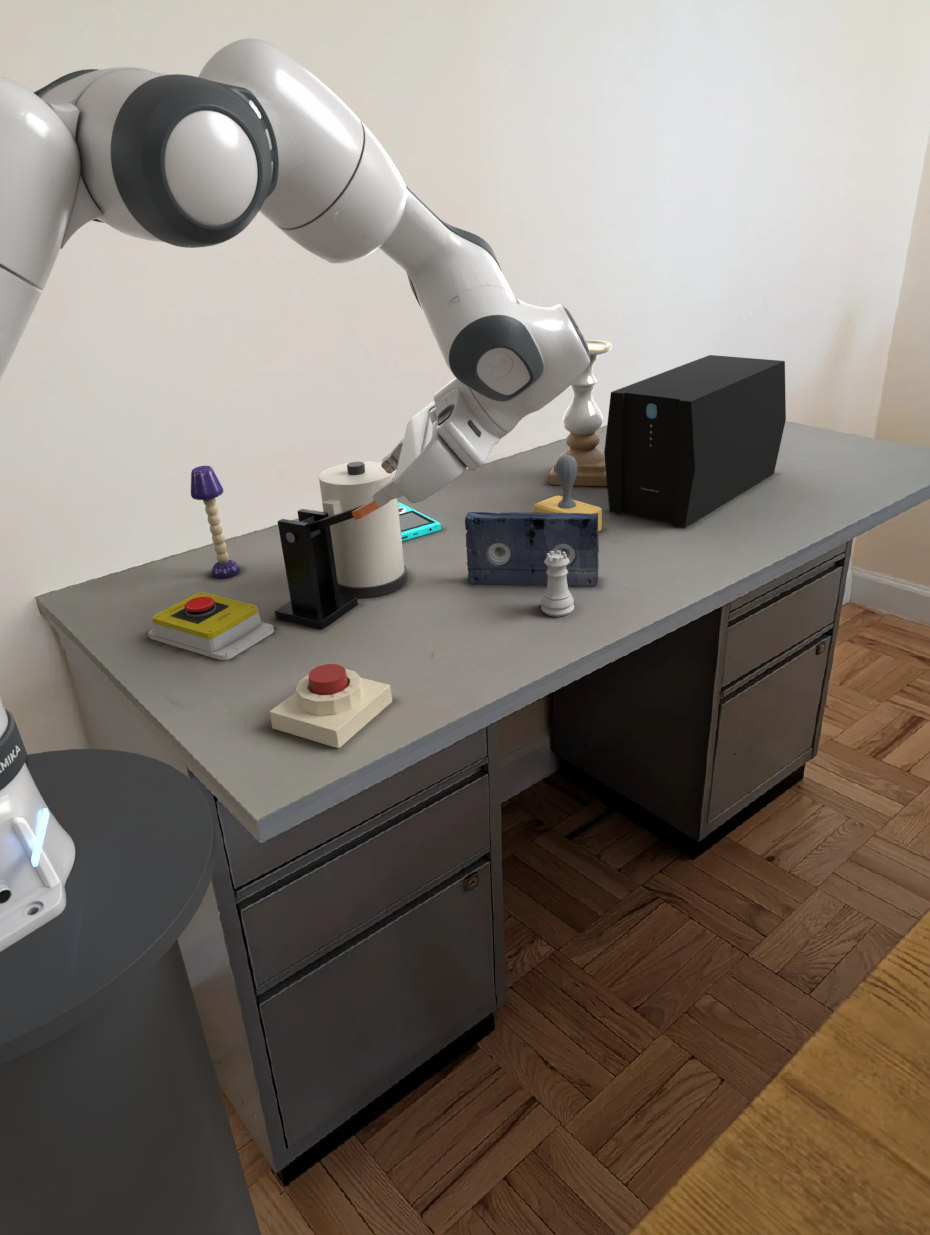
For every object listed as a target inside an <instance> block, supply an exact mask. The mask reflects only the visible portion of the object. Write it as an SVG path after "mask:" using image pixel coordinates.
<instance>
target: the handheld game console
mask: <svg viewBox="0 0 930 1235" xmlns="http://www.w3.org/2000/svg"><path fill="white" fill-rule="evenodd" d="M398 507H399V517H400V526H401V539H402V542H405V541H408V540H412V539H414V538H415V539H416V538H418V537H422V536H425V535H429V534H433V533H435V532H439V531H441V530H442V528H441V526H442V524H441V522H439V521H437V520H435V519H433V518H431V517H429V516H427V515H425V514H423V513H421V512H419V511H417V510H415V509H413V508H411V507H410V506H408V505H405V504H404V503H401V502H400V501H398Z"/></svg>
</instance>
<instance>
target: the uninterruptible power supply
mask: <svg viewBox="0 0 930 1235" xmlns="http://www.w3.org/2000/svg"><path fill="white" fill-rule="evenodd" d="M786 401H787V400H786V361H785V360H777V359H763V358H754V357H753V358H752V357H740V356H727V355H715V354H714V355H713V354H709V355H706V356H704V357H701V358H698V359H695V360H692V361H690V362H687V363H685V364H682V365H679V366H676V367H674V368H671V369H668V370H666V371H663V372H660V373H657V374H655V375H653V376H650V377H648V378H644V379H642V380H640V381H636V382H634V383H631V384H629V385H626V386H623V387H620V388H618V389H616V390H613V391H611V392H610V396H609V405H608V413H607V414H608V415H607V422H606V433H605V441H604V451H603V452H604V456H605V467H606V478H607V486H606V487H607V489H606V490H607V499H608V510H609V513H612V514H618V515H623V514H626V515H630V516H635V517H639V518H642V519H643V518H644V519H648V520H653V521H657V522H662V523H665V524H672V525H673V526H674V527H677V528H681V529H686V528H688V527H689V526H691V525H692V524H694V523H697V521H699V520H701V519H702V518H704V517H705V516H707V515H709V514H711V513H712V512H714V511H715V510H717V509H719V508H721V507H723V506H724V505H725V504H727V503H728V502H730V501H732V500H733V499H735V498H737V497H739V496H740V495H741V494H743V493H745V492H747V491H748V490H750V489H751V488H753V487H756V485H758V484H760V483H762V482H763V481H764V480H766V479H768V478H769V477H771V476H773V475H774V474H775V471H776V466H777V462H778V457H779V453H780V449H781V444H782V438H783V435H784V430H785V426H786V421H787V410H786V409H787V408H786V407H787V405H786Z"/></svg>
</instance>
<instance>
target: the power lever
mask: <svg viewBox="0 0 930 1235" xmlns="http://www.w3.org/2000/svg"><path fill="white" fill-rule="evenodd" d="M388 503H389V502H388ZM380 507H382V506H379V505H378V504H377V503H376V502H375V501H374V500H372V501H371V502H369V503H367V504H364V505H362V506H359V507H356V508H353V509H350V510H347V511H344V512H341V513H339V514H336V515H333V516H330V517H327V518H324V519H321V520H319V521H315V518H314V516H312V517H309V518H307V519H304V520H301V521H300V522H306V523H309V527H310V534H311V538H313V537H315V536H316V535H318V534H320V533H321V531H320V529H322V528H325V527H328V526H331V525H334V524H337V523H340V522H343V521H346V520H349V519H352V518H354V519H355V520H358V519H361V518H363V517H364V516H366V515H368V514H370V513H371V512H373V511H375V510H377V509H378V508H380Z"/></svg>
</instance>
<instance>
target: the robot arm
mask: <svg viewBox="0 0 930 1235" xmlns="http://www.w3.org/2000/svg"><path fill="white" fill-rule="evenodd" d="M258 213H261V215H263V216H264V217H265V218H266V219H267V220H268V221H270V223H272V224H273V225H274V226H275V227H276V228H277V229H279V230H280V231H281V232H282V233H283V234H285V235H286V236H287V237H288V238H290V239H291V240H292V241H293V242H295V244H297V245H298V246H300V248H303V249H304V250H305V251H307V252H308V253H311V254H312V255H314V256H316V257H318V258H320V259H322V260H324V261H326V262H328V263H330V264H334V265H335V264H336V265H337V264H348V263H352V262H355V261H360V260H362V259H364V258H366V257H368V256H369V255H371V254H373V253H374V252H375V251H377V250H378V249H379V250H380V251H382V252H383V254H385V255H386V256H387V257H388V258H390V259H391V260H392V261H393V262H394V263H396V264H397V265H398V266H399V267H400V268H402V269H403V271H405V273H406V276H407V279H408V283H409V286H410V288H411V291H412V294H413V296H414V297H415V298H414V299H415V300H416V302H417V304H418V305H419V307H420V309H421V310H422V312H423V315H424V316H425V319H426V321H427V323H428V325H429V327H430V331H431V333H432V335H433V337H434V340H435V342H436V344H437V347H438V350H439V352H440V354H441V355H442V358H443V360H444V362H445V364H446V366H447V368H448V369H449V371H450V372H451V373H452V375H453V379H451V380H450V381H449V382H447V383H446V384H445V385H444V386H443V387H441V388H440V389H439V390H437V391H436V392H435V393H434V394H433V401H432V402H430V403H429V404H428V405H426V406H425V407H424V408H422V409H420V411H418V412H417V413H416V414H414V415H413V416H412V417H411V418H410V420H409V421H408V422H407V424H406V428H405V432H404V435H403V436H404V437H403V438H402V439H401V440H400V441H399V442H398V443H397V445H396V446H395V447H394V448H393V449H392V451H391V452H390V453H388V454H387V455H386V456H385V457H383V458H382V460H381V462H382V464H381V466H382V468H383V469H384V470H385V471H386V472H387V473H389V474H390V473H392V472H393V471H394V470H395V477H393V478H392V481H390V482H388V483H387V484H385V485H384V484H382V485H381V486H379V487H378V488H377V489H376V490H375V491H374V493H373V500H374V501H375V502H376V503H377V504H378V505H379V506H384V505H385V504H387V503H388V502H389V501H391V500H393V499H396V498H398V499H399V498H401V497H404V498H406V500H407V501H409V503H411V504H416V503H420V502H423V501H426V500H427V499H428V498H430V497H431V496H433V495H434V494H436V493H438V492H439V491H441V490H442V489H444V488H445V487H446V486H448V485H450V484H451V483H453V482H454V481H455V480H457V479H458V478H459V477H461V476H462V475H463V473H465V471H466V470H467V469H468V470H470V471H471V472H474V471H475V470H477V469H479V468H480V467H482V466H483V465H484V464H485V462H486V461H487V459H488V457H489V455H490V453H491V451H492V449H493V448H494V447H495V446H496V445H497V444H498V443H499V442H500V440H501V439H503V438H505V436H507V435H508V434H510V433H511V432H512V431H513V430H514V429H515V428H516V426H517V425H518V424H519V423H520V421H522V419H524V418H525V417H527V416H528V415H531V414H533V413H536V412H538V411H540V410H541V409H543V408H544V407H546V406H547V405H549V404H550V403H551V402H552V401H554V400H555V399H556V398H557V397H559V396H560V395H561V394H562V393H564V392H565V391H566V390H567V389H568V388H569V387H571V386H570V385H571V384H572V383H573V382H574V381H575V380H577V378H578V377H579V376H580V375H581V374H582V373H583V372H584V370H585V369H586V368H587V366H588V365H589V363H590V351H589V348H588V345H587V343H586V341H585V340H586V339H585V337H584V334H582V331H581V329H580V327H579V325H578V324H577V321H576V320H575V318H574V317H573V315H572V313H571V312H570V310H569V309H568V308H567V307H565V306H564V305H563V304H560V303H559V304H556V305H553V306H551V307H548V306H547V307H546V306H538V305H535V304H534V305H533V304H530V303H528V302H525V301H523V300H521V299H519V298H516V297H515V294H514V293H513V291H512V289H511V286H510V284H509V283H508V281H507V279H506V278H505V275H504V274H503V271H502V268H501V266H500V263H499V261H498V258H497V256H496V253H495V251H494V249H493V247H492V246H491V245H490V244H489V243H488V241H486V240H485V239H484V238H482V237H480V236H479V235H477V234H475V233H473V232H470V231H469V230H468V231H467V230H465V229H462V228H459V227H456V226H453V225H451V224H449V223H447V222H446V221H444V220H443V219H441V218H440V217H439V216H438V215H437V214H436V213H435V212H433V211H432V210H431V208H429V207H428V206H427V204H426V203H424V202H423V200H421V199H420V198H419V196H417V195H416V194H415V192H413V191H412V190H411V189H410V188H409V187H408V186H407V185H406V183H405V181H404V179H403V177H402V175H401V173H400V171H399V169H398V168H397V166H396V165H395V163H394V162H393V160H392V158H391V157H390V155H389V154H388V152H387V151H386V149H385V148H384V147H383V146H382V144H381V143H380V141H379V140H378V139H377V138H376V136H375V135H374V134H373V132H372V131H371V130H370V129H369V128H368V127H367V125H366V124H364V122H363V121H362V120H361V119H360V118H359V117H358V116H357V114H356V113H354V111H353V110H352V109H351V108H350V107H349V106H348V105H347V104H346V103H345V102H344V101H343V100H342V99H341V98H340V97H339V96H338V95H337V94H336V93H335V92H334V91H332V89H331V88H329V87H328V86H327V85H326V84H325V83H323V81H321V80H320V79H319V78H318V77H317V76H316V75H314V73H312V72H311V71H310V70H308V69H307V68H305V67H304V66H303V65H302V64H301V63H299V62H298V61H296V60H295V59H294V58H293V57H291V56H290V55H288V54H287V53H286V52H284V51H283V50H282V49H280V48H279V47H277V46H276V45H274V44H273V43H271V42H269V41H266V40H262V39H258V38H242V39H238V40H235V41H232V42H230V43H228V44H226V45H225V46H223V47H221V49H218V51H216V52H215V53H214V54H213V55H212V56H211V58H209V59H208V61H207V62H206V63H205V65H204V66H203V67H202V69H201V71H200V73H199V75H198V76H194V75H189V74H180V73H179V74H177V73H176V74H175V73H174V74H167V73H162V72H157V71H153V70H150V69H147V68H142V67H136V66H133V67H132V66H119V67H109V68H103V69H99V68H89V69H80V70H75V71H72V72H69V73H67V74H64V75H62V76H60V77H58V78H56V79H54V80H53V81H51V82H50V83H48V84H46V85H45V86H43V87H42V88H39V89H37V90H35V91H34V92H33V91H31V90H30V89H28V88H27V87H25V86H23V85H22V84H20V83H18V82H16V81H14V80H11V79H9V78H7V77H4V76H2V75H0V381H1V380H2V378H3V377H4V374H5V372H6V370H7V368H8V365H9V363H10V362H11V359H12V357H13V355H14V353H15V351H16V348H17V346H18V344H19V342H20V340H21V338H22V337H23V334H24V332H25V329H26V327H27V325H28V323H29V321H30V319H31V317H32V315H33V312H34V310H35V308H36V306H37V304H38V302H39V301H40V298H41V295H42V291H44V289H45V287H46V284H47V282H48V280H49V277H50V275H51V273H52V270H53V268H54V266H55V263H56V261H57V258H58V256H59V253H60V250H62V249H63V248H64V247H65V245H66V244H67V242H68V241H69V240H70V239H71V237H72V236H73V235H74V234H75V233H77V231H78V230H79V229H80V228H82V227H83V226H85V225H86V224H87V223H89V222H91V221H93V222H97V223H102V224H106V225H108V226H110V227H111V228H113V229H115V230H116V231H118V232H120V233H122V234H125V235H127V236H129V237H133V238H137V239H142V240H144V241H145V240H146V241H149V242H158V243H166V244H169V245H171V246H174V247H180V248H187V249H196V248H197V249H198V248H207V247H211V246H212V247H213V246H216V245H219V244H222V243H225V242H227V241H230V240H231V239H234V238H235V237H236V236H238V235H239V234H241V233H242V232H244V230H245V229H246V228H247V227H248V226H249V225H250V224H251V223H252V221H253V220H254V219H256V217H257V215H258ZM28 755H29V754H28V752H27V750H26V747H25V743H24V740H23V737H22V735H21V732H20V730H19V727H18V725H17V723H16V719H15V717H14V715H13V714H12V713H11V711H9V709H7V708H6V707H5V705H4V703H3V699H2V697H1V696H0V952H1V951H3V950H4V949H6V948H8V947H9V946H11V945H12V944H14V943H16V942H17V941H19V940H20V939H22V938H24V937H25V936H27V935H28V934H30V933H32V932H33V931H35V930H36V929H38V928H40V927H41V926H43V925H44V924H46V923H48V922H49V921H51V920H52V919H54V918H55V917H57V916H58V915H60V914H61V913H62V912H63V910H64V909H65V906H66V892H65V883H66V880H67V878H68V876H69V874H70V872H71V869H72V867H73V864H74V860H75V845H74V842H73V840H72V838H71V837H70V836H69V835H68V833H67V832H66V831H65V830H64V829H63V828H62V827H61V825H60V824H59V823H58V822H57V820H56V819H55V817H54V816H53V814H52V813H51V812H50V810H49V808H48V807H47V805H46V803H45V802H44V800H43V798H42V796H41V794H40V793H39V791H38V789H37V787H36V785H35V783H34V781H33V779H32V776H31V774H30V772H29V770H28V768H27V767H28V764H29V761H28Z"/></svg>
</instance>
